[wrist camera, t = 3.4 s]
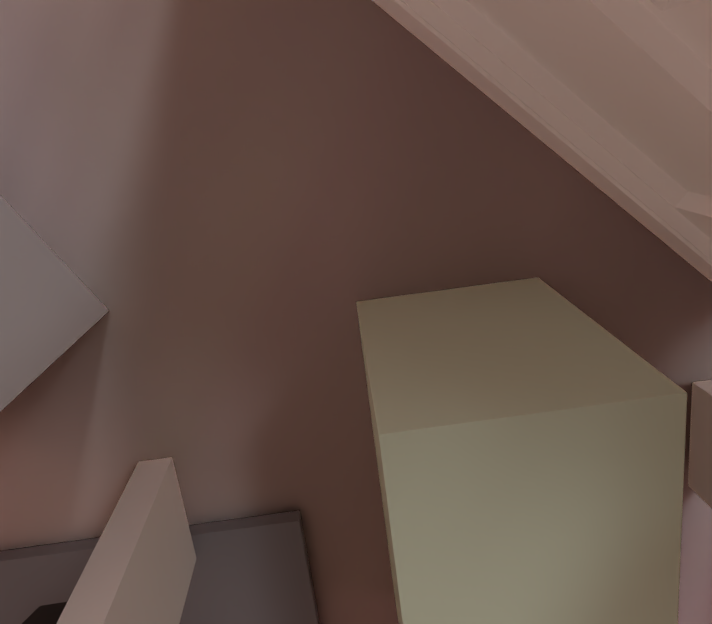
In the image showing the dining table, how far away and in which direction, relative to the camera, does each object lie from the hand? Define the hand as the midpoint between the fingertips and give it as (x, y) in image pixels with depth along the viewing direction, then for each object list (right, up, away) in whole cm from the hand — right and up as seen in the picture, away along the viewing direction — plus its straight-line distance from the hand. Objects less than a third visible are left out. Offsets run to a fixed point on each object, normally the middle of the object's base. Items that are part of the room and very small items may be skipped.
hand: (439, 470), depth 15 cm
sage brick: (+1, 0, 0) cm, 1 cm away
